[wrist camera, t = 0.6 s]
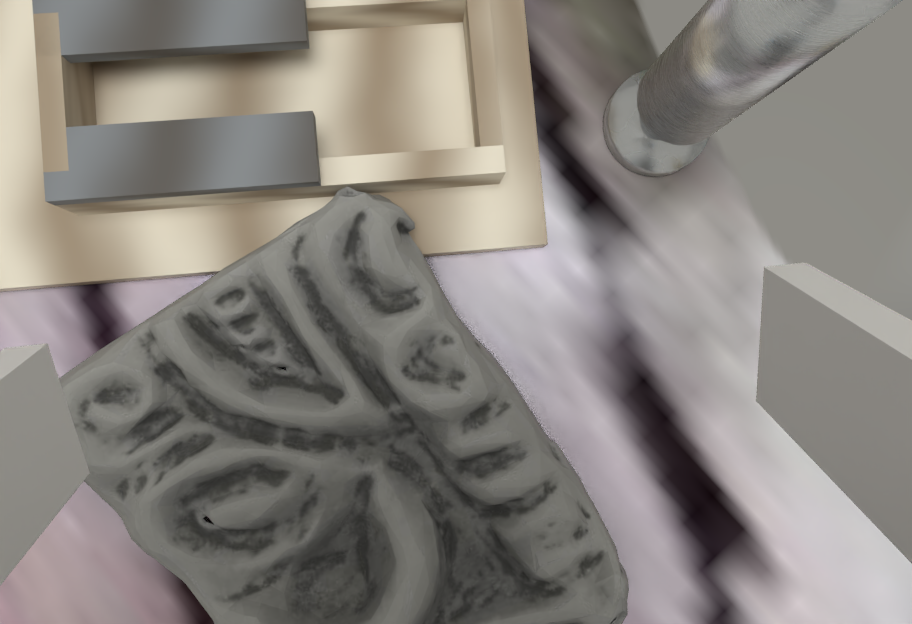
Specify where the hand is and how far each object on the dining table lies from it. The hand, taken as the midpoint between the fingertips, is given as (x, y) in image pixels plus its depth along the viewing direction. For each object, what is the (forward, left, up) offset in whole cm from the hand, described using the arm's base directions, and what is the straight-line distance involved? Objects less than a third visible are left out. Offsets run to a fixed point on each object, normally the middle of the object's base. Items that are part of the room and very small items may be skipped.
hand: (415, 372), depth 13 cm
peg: (+10, -13, -20) cm, 26 cm away
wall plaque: (-6, +4, -20) cm, 21 cm away
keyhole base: (+12, +6, -20) cm, 24 cm away
